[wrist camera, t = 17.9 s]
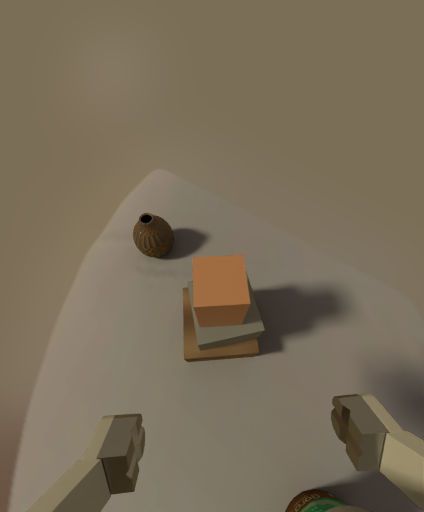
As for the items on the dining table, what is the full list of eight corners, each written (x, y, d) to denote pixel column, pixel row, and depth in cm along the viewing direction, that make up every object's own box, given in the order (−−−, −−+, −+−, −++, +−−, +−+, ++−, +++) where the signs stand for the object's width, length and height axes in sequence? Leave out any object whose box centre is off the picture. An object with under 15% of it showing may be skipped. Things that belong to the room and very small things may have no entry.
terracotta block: (241, 324, 27) (250, 303, 20) (199, 327, 27) (193, 307, 20) (236, 285, 29) (243, 254, 22) (198, 288, 29) (192, 257, 22)
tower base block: (253, 356, 34) (259, 352, 30) (188, 362, 34) (183, 359, 30) (244, 294, 39) (247, 283, 35) (186, 298, 39) (183, 288, 34)
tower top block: (257, 337, 31) (264, 330, 26) (200, 350, 30) (197, 345, 26) (242, 284, 35) (245, 270, 30) (190, 294, 34) (187, 281, 30)
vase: (170, 228, 46) (161, 197, 38) (180, 255, 43) (172, 227, 35) (136, 239, 45) (120, 209, 37) (145, 267, 41) (129, 241, 34)
